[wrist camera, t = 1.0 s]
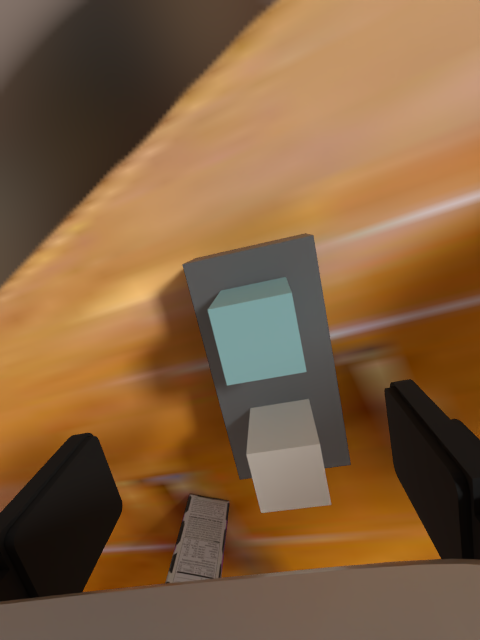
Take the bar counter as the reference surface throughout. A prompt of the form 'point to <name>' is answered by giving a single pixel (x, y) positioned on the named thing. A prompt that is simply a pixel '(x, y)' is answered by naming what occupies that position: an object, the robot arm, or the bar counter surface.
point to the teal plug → (257, 332)
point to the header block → (278, 379)
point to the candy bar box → (200, 541)
